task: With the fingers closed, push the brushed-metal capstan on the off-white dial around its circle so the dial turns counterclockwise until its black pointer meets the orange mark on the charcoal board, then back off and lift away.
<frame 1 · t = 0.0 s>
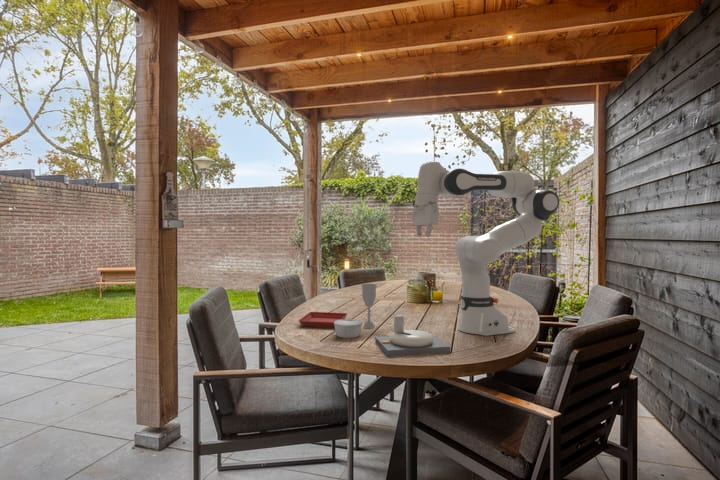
hand: (423, 236, 164), 39 cm above the table, tool pointing down, fingers open, 8 cm apart
ramekin: (348, 335, 162), on the table
dial: (411, 329, 145), point 6 cm above the table, hinge at -55.0°
chalice: (369, 327, 175), on the table
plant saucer: (323, 324, 182), on the table
dial board: (411, 347, 146), on the table
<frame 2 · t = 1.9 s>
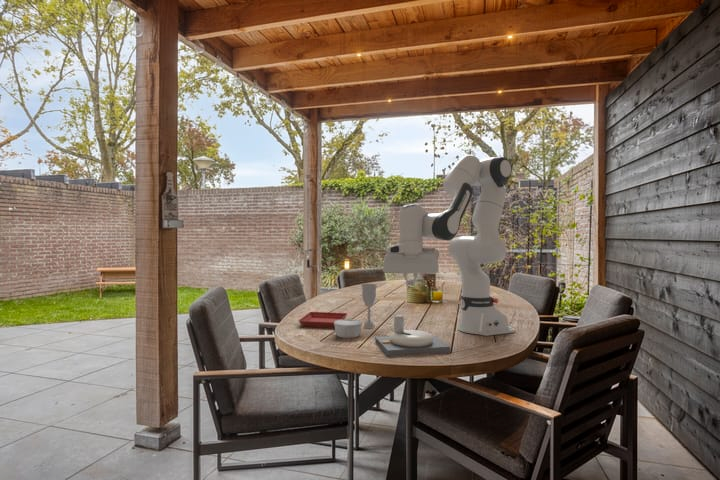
hand: (410, 285, 151), 21 cm above the table, tool pointing down, fingers closed
nothing on the table moved.
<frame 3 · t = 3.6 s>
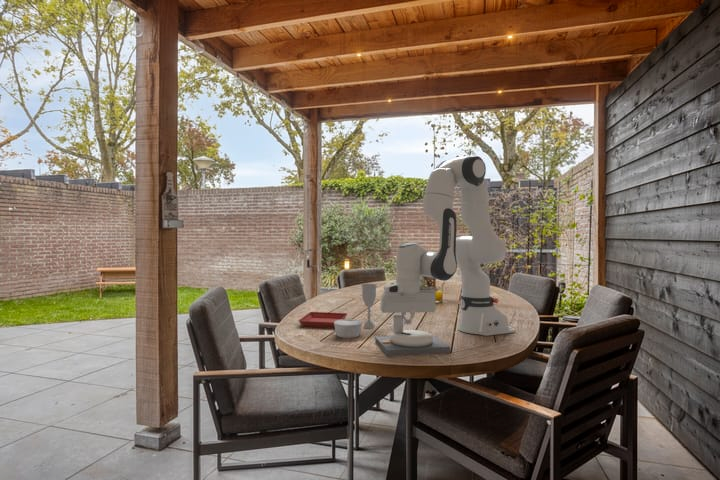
hand: (407, 324, 151), 7 cm above the table, tool pointing down, fingers closed
dial: (411, 329, 145), point 6 cm above the table, hinge at -51.4°, touching gripper
everything else where it was.
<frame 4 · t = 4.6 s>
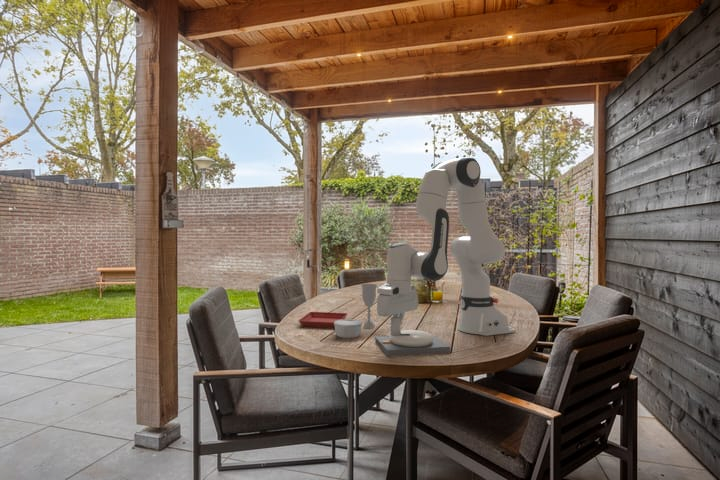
hand: (398, 325, 149), 7 cm above the table, tool pointing down, fingers closed
dial: (411, 329, 145), point 6 cm above the table, hinge at -15.6°, touching gripper
everything else where it was.
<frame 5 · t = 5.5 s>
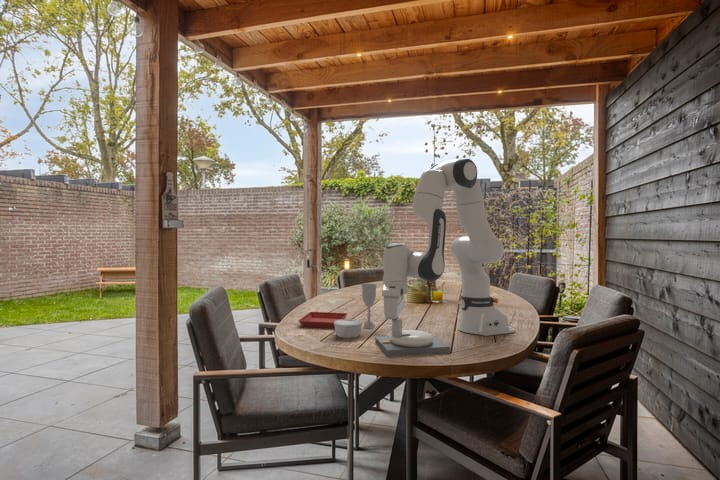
hand: (394, 326, 147), 7 cm above the table, tool pointing down, fingers closed
dial: (411, 329, 145), point 6 cm above the table, hinge at 6.4°, touching gripper
everything else where it was.
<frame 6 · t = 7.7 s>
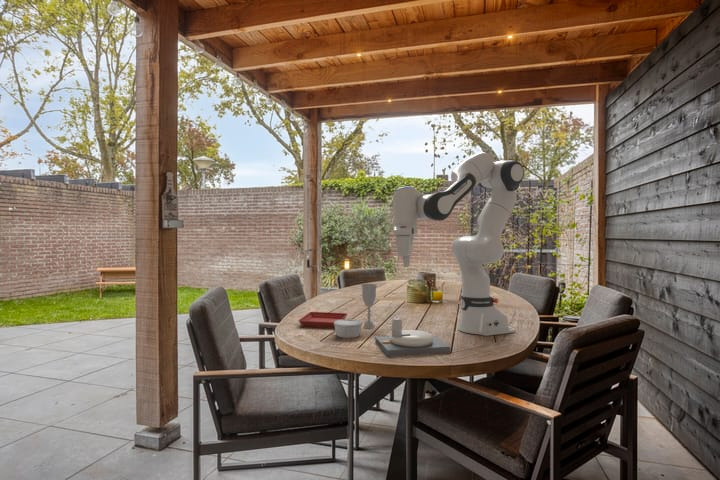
hand: (406, 266, 154), 28 cm above the table, tool pointing down, fingers closed
dial: (411, 329, 145), point 6 cm above the table, hinge at 4.9°
everything else where it was.
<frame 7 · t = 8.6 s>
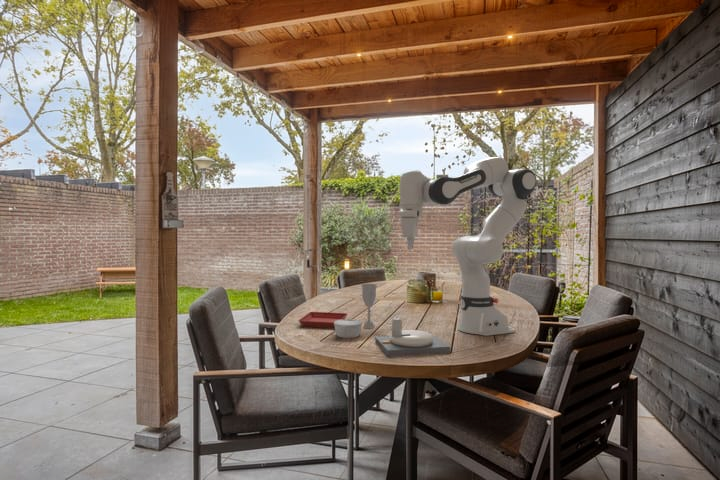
hand: (410, 249, 158), 34 cm above the table, tool pointing down, fingers closed
nothing on the table moved.
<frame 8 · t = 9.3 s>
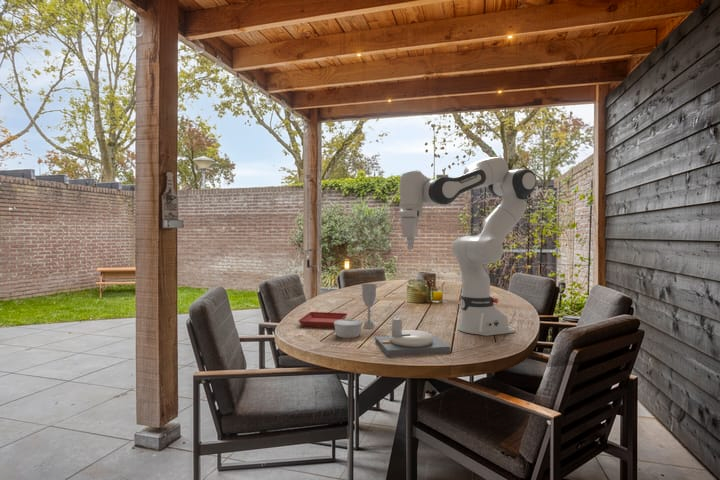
hand: (410, 249, 158), 34 cm above the table, tool pointing down, fingers closed
nothing on the table moved.
at the end: dial at +5° (first picture: -55°); the gripper is holding nothing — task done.
